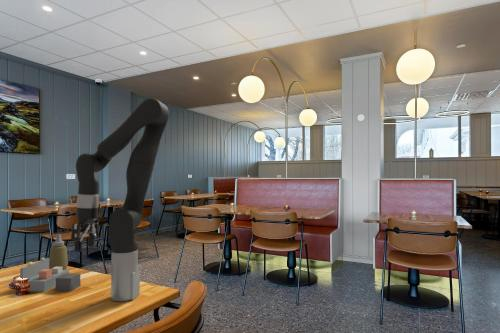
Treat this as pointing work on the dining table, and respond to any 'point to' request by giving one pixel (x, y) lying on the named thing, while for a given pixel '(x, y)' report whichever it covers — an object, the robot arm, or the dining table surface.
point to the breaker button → (45, 273)
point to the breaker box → (33, 274)
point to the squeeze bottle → (58, 254)
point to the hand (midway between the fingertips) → (84, 248)
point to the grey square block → (67, 282)
